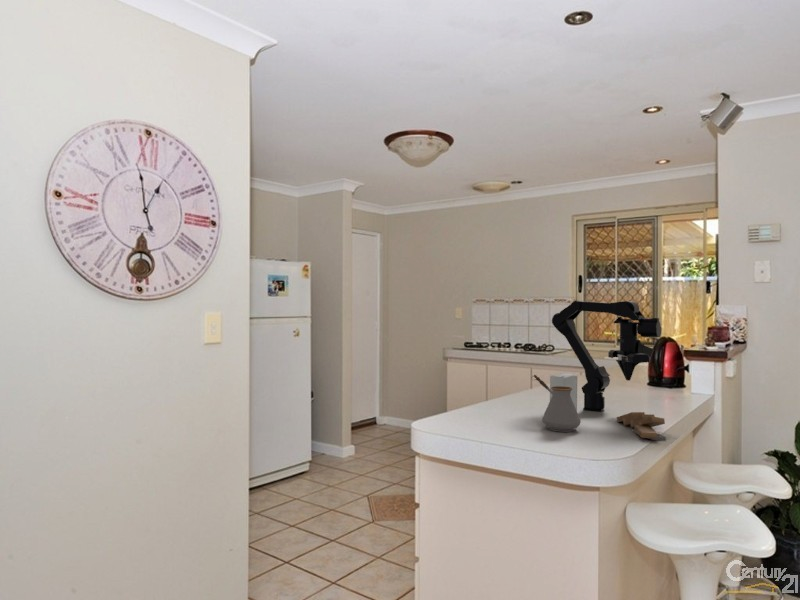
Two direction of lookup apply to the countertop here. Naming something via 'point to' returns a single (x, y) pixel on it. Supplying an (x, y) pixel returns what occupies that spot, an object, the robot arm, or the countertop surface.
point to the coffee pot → (560, 409)
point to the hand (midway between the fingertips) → (628, 380)
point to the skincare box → (565, 384)
